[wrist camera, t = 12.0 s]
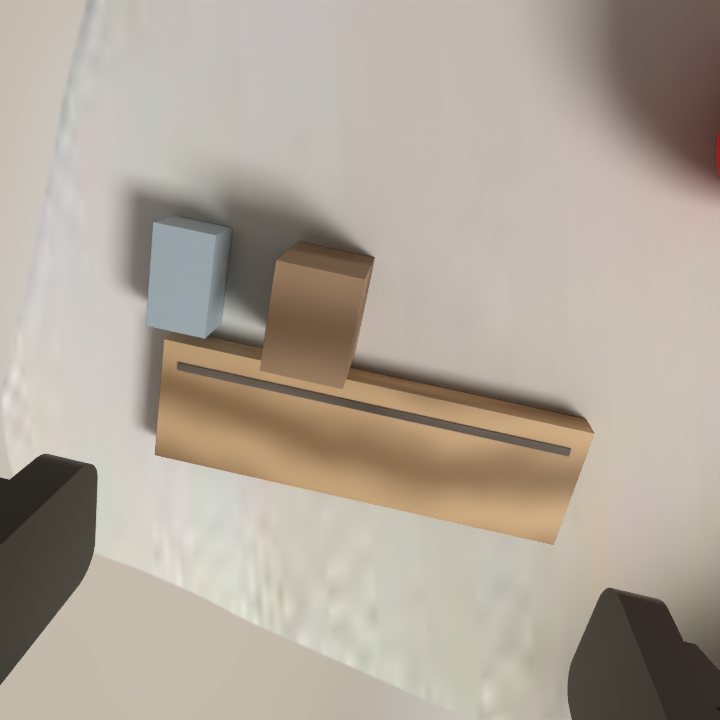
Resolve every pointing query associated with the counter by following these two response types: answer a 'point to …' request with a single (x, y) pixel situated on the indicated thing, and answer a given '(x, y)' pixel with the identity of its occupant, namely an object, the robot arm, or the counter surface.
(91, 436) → the counter surface
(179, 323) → the slate stop block
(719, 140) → the tomato
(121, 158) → the counter surface
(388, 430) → the oak board
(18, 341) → the counter surface
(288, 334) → the walnut block
